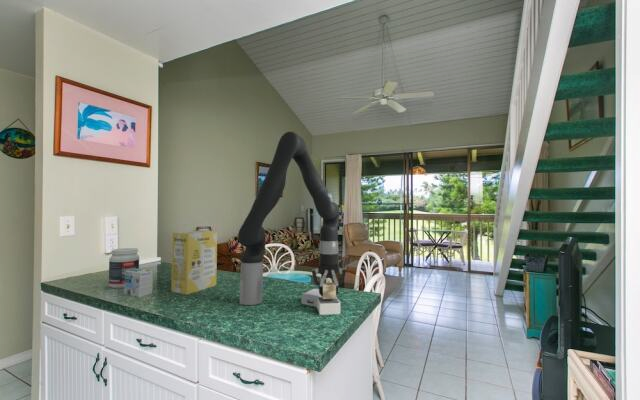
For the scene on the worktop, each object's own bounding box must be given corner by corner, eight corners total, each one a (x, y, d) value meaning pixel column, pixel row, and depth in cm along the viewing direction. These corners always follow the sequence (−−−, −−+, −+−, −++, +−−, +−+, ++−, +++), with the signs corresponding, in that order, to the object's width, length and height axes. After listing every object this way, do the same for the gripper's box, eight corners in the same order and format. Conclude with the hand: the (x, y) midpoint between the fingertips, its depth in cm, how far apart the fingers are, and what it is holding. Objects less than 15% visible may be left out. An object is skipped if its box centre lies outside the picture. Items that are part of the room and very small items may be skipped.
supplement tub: (127, 289, 144) (128, 251, 144) (101, 288, 144) (103, 251, 145) (144, 282, 157) (144, 247, 157) (120, 282, 157) (121, 247, 157)
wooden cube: (323, 299, 113) (323, 286, 114) (321, 295, 118) (321, 282, 118) (335, 298, 114) (335, 285, 114) (333, 294, 119) (333, 282, 119)
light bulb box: (123, 294, 135) (124, 270, 136) (137, 290, 142) (137, 268, 142) (139, 297, 131) (140, 273, 132) (153, 293, 138) (153, 270, 138)
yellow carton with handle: (201, 282, 157) (202, 230, 158) (216, 285, 152) (217, 231, 153) (171, 291, 141) (172, 232, 141) (186, 294, 136) (188, 233, 137)
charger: (337, 298, 133) (320, 308, 120) (319, 295, 137) (301, 304, 124) (337, 288, 133) (320, 296, 120) (319, 285, 137) (301, 292, 125)
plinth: (319, 314, 112) (319, 303, 112) (317, 307, 120) (317, 296, 120) (340, 313, 113) (340, 302, 113) (336, 306, 121) (336, 296, 121)
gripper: (311, 253, 112) (311, 298, 112) (348, 253, 114) (348, 297, 114) (309, 250, 119) (309, 293, 119) (344, 250, 121) (344, 292, 121)
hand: (328, 295), depth 116 cm, fingers closed on wooden cube, 4 cm apart
